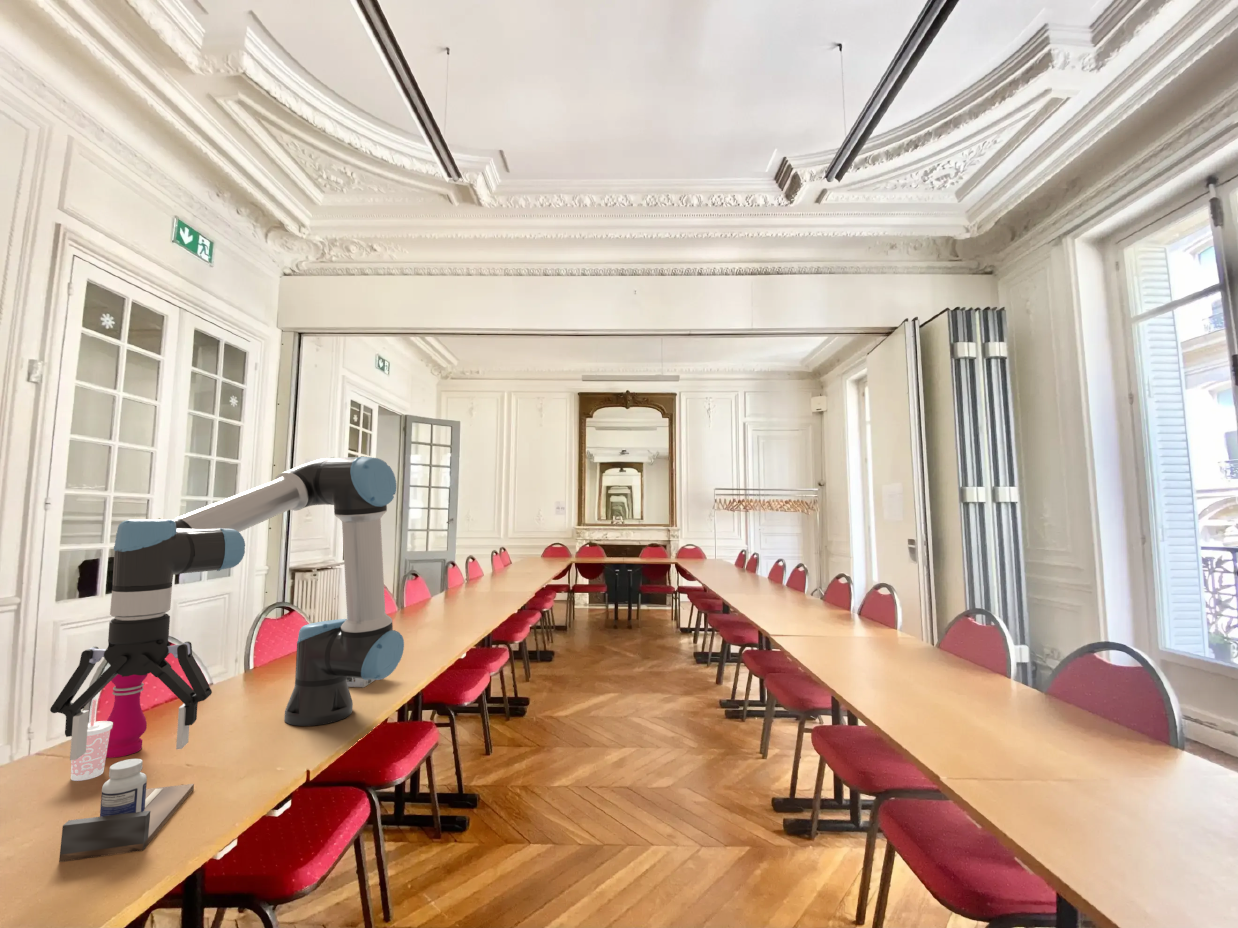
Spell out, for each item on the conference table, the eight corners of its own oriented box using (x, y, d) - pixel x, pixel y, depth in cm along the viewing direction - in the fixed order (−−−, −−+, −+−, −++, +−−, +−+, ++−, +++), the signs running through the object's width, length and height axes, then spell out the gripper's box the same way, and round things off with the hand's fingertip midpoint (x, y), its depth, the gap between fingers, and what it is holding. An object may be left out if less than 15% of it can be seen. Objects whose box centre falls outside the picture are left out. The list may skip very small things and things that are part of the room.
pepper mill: (118, 760, 116) (127, 659, 118) (89, 757, 117) (99, 656, 119) (153, 746, 123) (162, 651, 125) (126, 743, 124) (135, 649, 126)
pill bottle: (120, 818, 92) (124, 756, 93) (152, 819, 92) (157, 756, 93) (88, 837, 87) (93, 771, 88) (122, 838, 87) (127, 771, 88)
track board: (193, 789, 105) (195, 760, 105) (142, 850, 86) (146, 815, 86) (126, 796, 102) (129, 767, 102) (59, 862, 83) (62, 825, 83)
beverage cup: (58, 785, 105) (66, 706, 107) (74, 771, 111) (81, 696, 112) (101, 779, 108) (108, 702, 109) (114, 766, 114) (120, 693, 115)
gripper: (237, 607, 100) (230, 732, 99) (57, 614, 92) (46, 751, 91) (223, 615, 93) (215, 751, 92) (26, 624, 85) (14, 772, 84)
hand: (131, 751), depth 91 cm, fingers open, 13 cm apart
